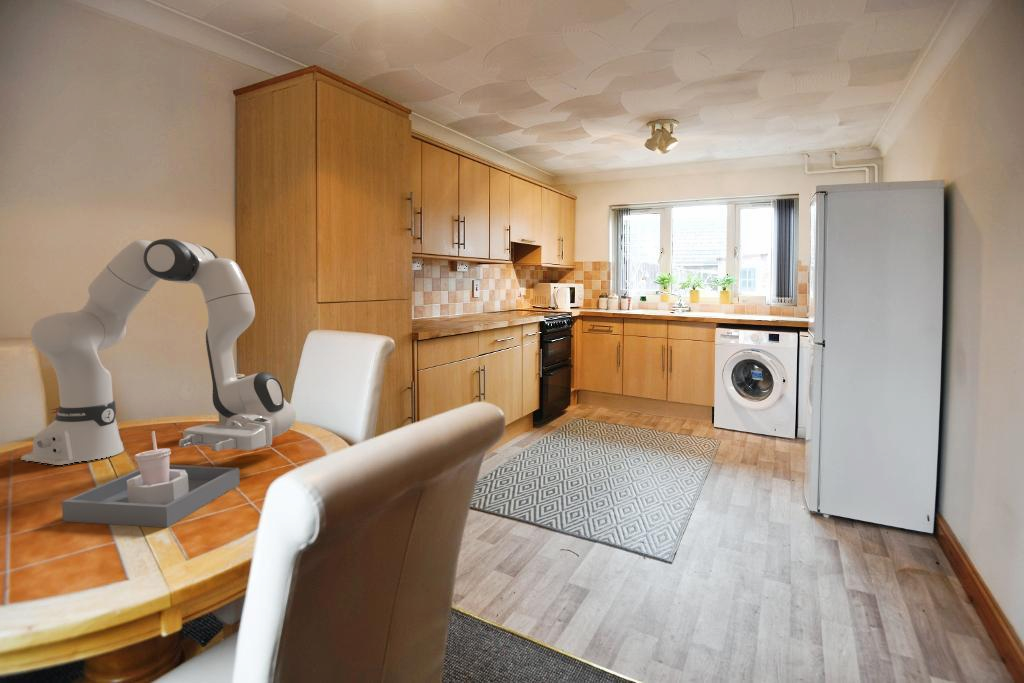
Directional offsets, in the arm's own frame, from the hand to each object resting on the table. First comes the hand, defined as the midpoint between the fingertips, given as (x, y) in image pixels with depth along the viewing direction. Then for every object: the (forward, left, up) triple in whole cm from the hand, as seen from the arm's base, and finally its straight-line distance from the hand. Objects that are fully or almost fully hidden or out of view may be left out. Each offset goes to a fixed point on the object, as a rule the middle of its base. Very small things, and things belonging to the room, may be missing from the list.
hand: (197, 445), depth 119 cm
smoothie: (-1, -11, -8) cm, 13 cm away
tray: (-2, -10, -9) cm, 14 cm away
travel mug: (-21, +43, -9) cm, 49 cm away
